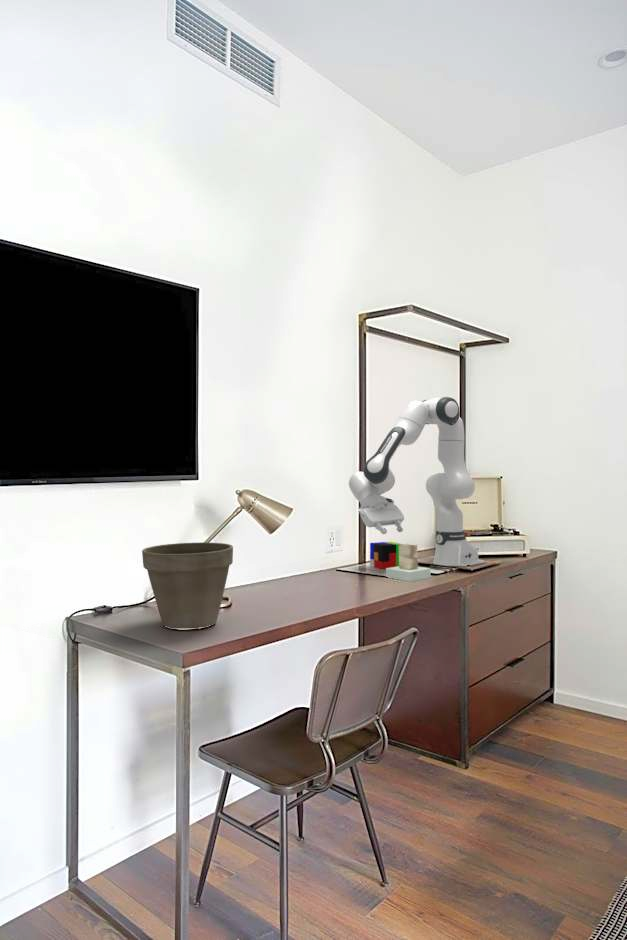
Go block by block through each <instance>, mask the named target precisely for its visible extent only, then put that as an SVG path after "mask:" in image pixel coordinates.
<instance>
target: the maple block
mask: <svg viewBox="0 0 627 940" xmlns="http://www.w3.org/2000/svg"><path fill="white" fill-rule="evenodd" d="M401 544H402V545H399V568H400V569H408V570H410V569H416V568H418V567H419V561H418V558H419V556H418V544H415V543H414V544H413V543H401Z"/></svg>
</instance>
